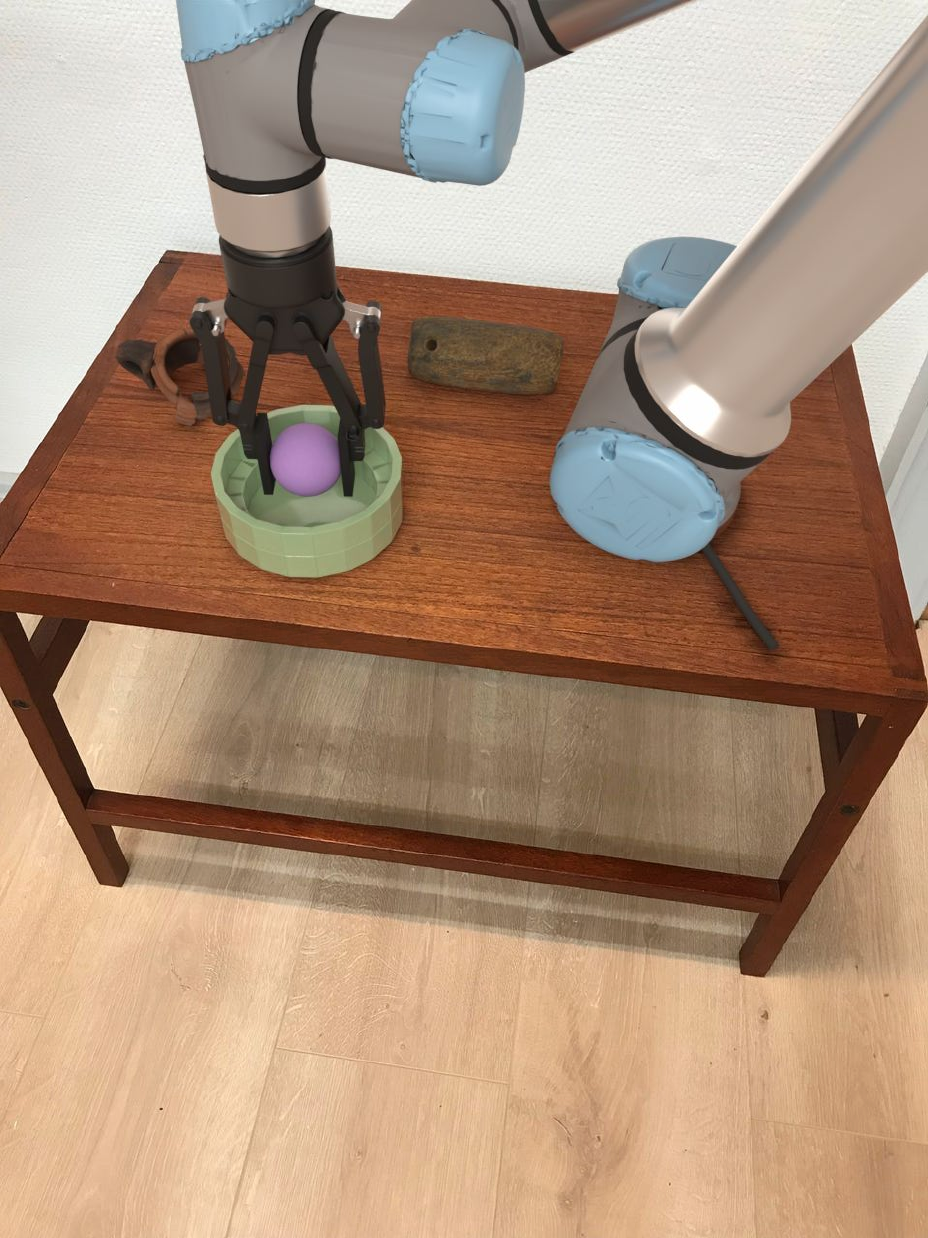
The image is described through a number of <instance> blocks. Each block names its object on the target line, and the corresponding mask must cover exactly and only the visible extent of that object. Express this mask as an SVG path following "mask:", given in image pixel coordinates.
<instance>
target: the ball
mask: <svg viewBox="0 0 928 1238" xmlns="http://www.w3.org/2000/svg"><path fill="white" fill-rule="evenodd" d="M270 466H271V470H272V473H273V475H274V477H275V479H276V480H277V482H278V483H279V484H280V485H281V486H282V487H283V488H284V489H285V490H287V491H288V492H290V493H292V494H295V495H298V496H303V497H312V496H317V495H320V494H323V493H325V492H326V491H328V490H329V489H331V488H332V487H333V486H334V485H335V483H336V482H337V481H338V479H339V477H340V475H341V466H340V456H339V446H338V441H337V439H336V438H335V437H334V436H333V434H332V433H330V432H329V431H328V430H327V429H325V428H323V427H321V426H319V425H316V424H311V423H300V424H296V425H293V426H290V427H288V428H287V429H285V430H284V431H282V432H281V433H280V434H279V435H278V437H277V438H276V439H275V441H274V443H273V445H272V448H271V452H270Z"/></svg>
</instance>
